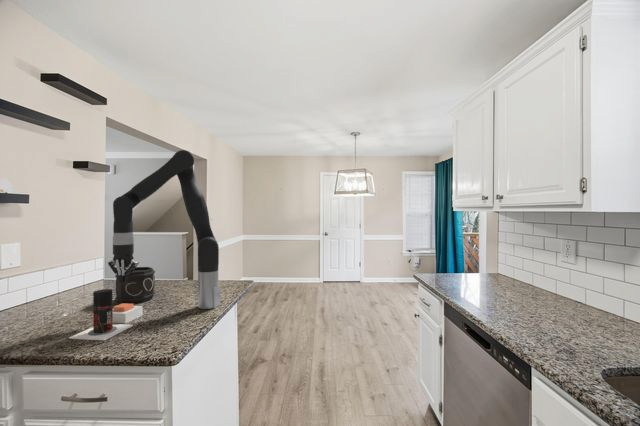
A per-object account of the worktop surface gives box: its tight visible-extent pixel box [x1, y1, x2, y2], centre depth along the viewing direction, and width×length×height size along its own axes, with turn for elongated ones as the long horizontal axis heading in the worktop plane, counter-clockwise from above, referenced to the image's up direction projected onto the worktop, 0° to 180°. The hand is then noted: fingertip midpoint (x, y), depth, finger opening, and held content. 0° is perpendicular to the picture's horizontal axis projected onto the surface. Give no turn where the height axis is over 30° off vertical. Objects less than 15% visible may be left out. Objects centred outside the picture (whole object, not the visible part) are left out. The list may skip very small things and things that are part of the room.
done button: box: [113, 303, 135, 312], centre depth 130 cm, size 5×5×3 cm
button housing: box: [113, 305, 144, 324], centre depth 130 cm, size 10×10×4 cm
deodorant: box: [92, 288, 114, 334], centre depth 116 cm, size 6×6×15 cm
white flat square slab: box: [68, 323, 134, 341], centre depth 116 cm, size 14×14×1 cm
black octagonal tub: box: [114, 266, 156, 304], centre depth 158 cm, size 18×18×16 cm
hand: (123, 283), depth 130 cm, fingers closed
